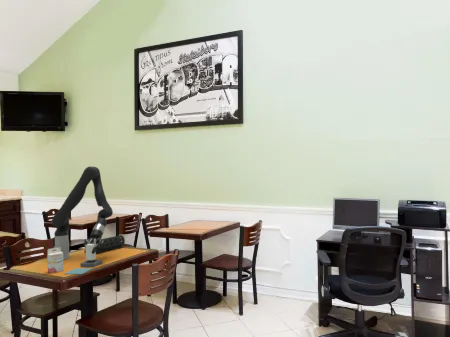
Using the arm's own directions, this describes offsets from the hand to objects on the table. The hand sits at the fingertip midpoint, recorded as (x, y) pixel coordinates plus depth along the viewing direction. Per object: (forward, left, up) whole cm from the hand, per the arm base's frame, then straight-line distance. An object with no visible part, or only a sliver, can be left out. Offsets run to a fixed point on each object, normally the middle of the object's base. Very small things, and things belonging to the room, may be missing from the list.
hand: (89, 253), depth 245 cm
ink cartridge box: (-16, -13, -9) cm, 22 cm away
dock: (0, +2, -9) cm, 9 cm away
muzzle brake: (-12, +46, -9) cm, 48 cm away
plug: (0, +2, -5) cm, 5 cm away
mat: (0, -13, -9) cm, 16 cm away
